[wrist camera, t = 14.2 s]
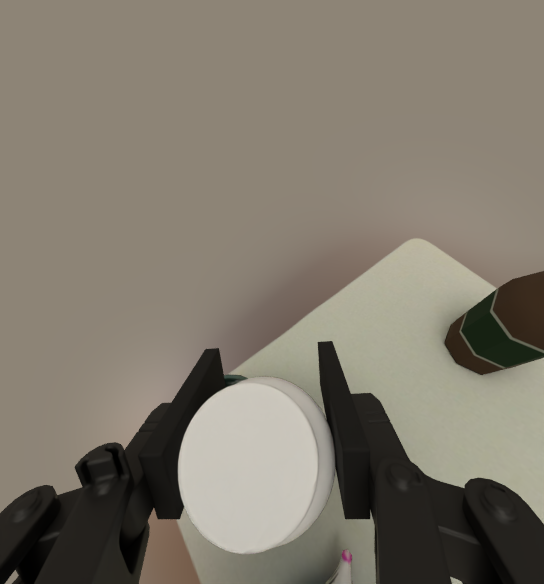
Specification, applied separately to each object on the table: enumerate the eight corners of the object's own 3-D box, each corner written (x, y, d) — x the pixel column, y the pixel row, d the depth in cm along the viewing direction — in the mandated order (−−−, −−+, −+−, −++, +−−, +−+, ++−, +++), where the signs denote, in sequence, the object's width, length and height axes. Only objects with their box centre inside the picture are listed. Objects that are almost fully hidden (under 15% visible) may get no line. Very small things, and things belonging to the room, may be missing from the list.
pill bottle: (294, 380, 17) (283, 328, 9) (343, 464, 15) (396, 510, 6) (222, 423, 16) (132, 414, 8) (260, 521, 14) (187, 664, 5)
